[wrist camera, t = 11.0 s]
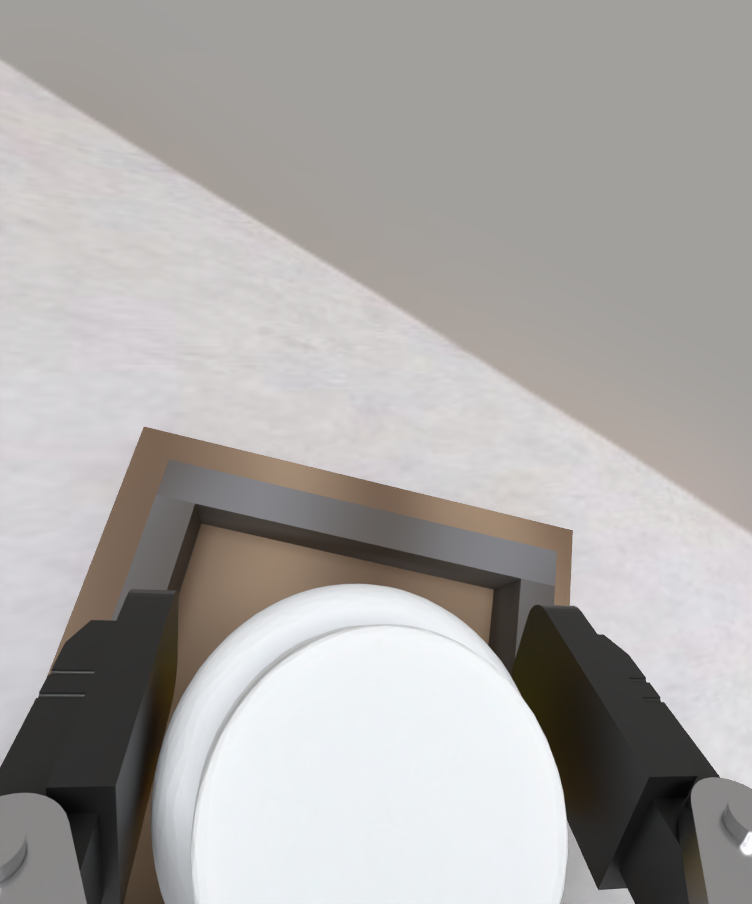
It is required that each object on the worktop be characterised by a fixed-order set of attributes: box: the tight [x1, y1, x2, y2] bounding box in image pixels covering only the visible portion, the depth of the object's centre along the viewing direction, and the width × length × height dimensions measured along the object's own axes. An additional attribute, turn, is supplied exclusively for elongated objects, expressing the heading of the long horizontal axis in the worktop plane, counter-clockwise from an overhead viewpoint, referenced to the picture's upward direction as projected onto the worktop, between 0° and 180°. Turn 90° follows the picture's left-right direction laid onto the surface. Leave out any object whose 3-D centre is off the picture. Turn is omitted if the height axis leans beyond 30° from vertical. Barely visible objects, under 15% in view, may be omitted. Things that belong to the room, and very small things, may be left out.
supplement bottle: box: [151, 584, 568, 904], centre depth 11 cm, size 6×6×10 cm
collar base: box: [47, 427, 573, 904], centre depth 15 cm, size 14×14×3 cm
